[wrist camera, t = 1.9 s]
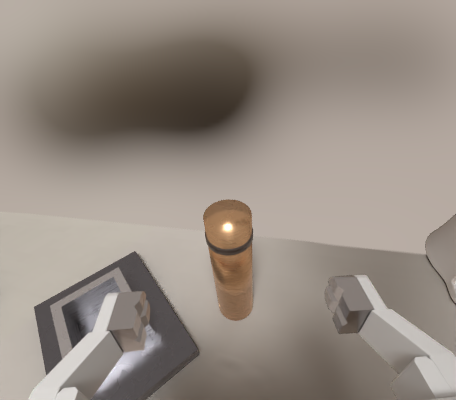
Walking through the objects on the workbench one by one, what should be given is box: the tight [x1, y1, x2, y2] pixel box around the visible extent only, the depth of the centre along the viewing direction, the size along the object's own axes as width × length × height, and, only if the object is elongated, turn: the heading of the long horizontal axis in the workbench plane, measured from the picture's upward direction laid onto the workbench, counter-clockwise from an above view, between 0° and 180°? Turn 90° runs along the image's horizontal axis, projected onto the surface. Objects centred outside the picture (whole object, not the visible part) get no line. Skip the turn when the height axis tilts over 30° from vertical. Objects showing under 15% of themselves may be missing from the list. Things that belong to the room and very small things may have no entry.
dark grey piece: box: [34, 251, 199, 400], centre depth 30 cm, size 18×14×6 cm
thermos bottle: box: [203, 200, 253, 321], centre depth 28 cm, size 5×5×16 cm
